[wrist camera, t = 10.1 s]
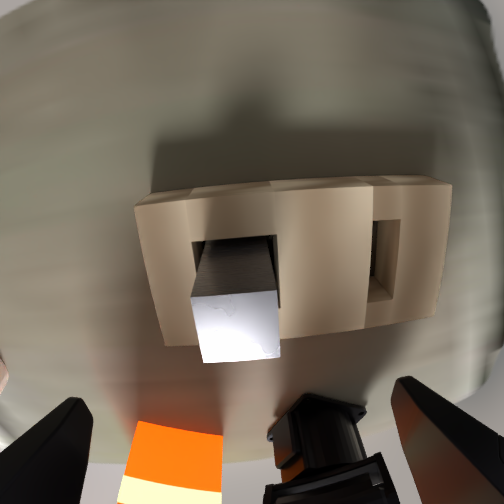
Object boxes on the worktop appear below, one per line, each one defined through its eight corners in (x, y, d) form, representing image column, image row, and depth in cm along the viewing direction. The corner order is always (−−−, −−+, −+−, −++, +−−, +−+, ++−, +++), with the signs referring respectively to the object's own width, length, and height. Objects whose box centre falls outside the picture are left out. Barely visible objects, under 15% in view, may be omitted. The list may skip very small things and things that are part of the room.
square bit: (263, 225, 18) (276, 290, 11) (267, 274, 19) (280, 357, 12) (209, 230, 18) (189, 297, 11) (216, 278, 19) (204, 362, 12)
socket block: (424, 175, 17) (452, 185, 14) (413, 293, 20) (434, 316, 17) (150, 193, 17) (133, 206, 14) (174, 317, 20) (165, 346, 17)
